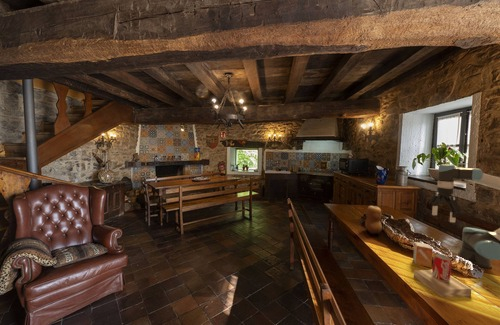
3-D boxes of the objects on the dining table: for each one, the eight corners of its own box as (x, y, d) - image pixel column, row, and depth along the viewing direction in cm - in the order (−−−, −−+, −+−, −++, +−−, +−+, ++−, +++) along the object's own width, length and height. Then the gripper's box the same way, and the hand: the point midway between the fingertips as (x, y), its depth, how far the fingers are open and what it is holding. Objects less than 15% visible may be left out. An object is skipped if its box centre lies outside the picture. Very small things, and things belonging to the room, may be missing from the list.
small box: (415, 264, 127) (416, 245, 126) (413, 259, 133) (414, 241, 132) (431, 268, 123) (432, 248, 122) (428, 263, 129) (429, 244, 128)
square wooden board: (439, 276, 115) (439, 269, 115) (470, 296, 99) (471, 288, 99) (414, 276, 115) (414, 270, 114) (442, 297, 99) (442, 289, 98)
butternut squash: (385, 236, 169) (386, 208, 168) (369, 235, 170) (371, 208, 168) (375, 229, 183) (376, 204, 182) (361, 229, 184) (362, 204, 182)
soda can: (431, 273, 112) (432, 251, 111) (448, 278, 107) (450, 256, 106) (432, 279, 106) (434, 257, 106) (451, 285, 102) (453, 261, 101)
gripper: (424, 184, 140) (422, 212, 141) (456, 191, 115) (454, 225, 116) (435, 184, 139) (433, 212, 140) (470, 191, 114) (468, 225, 115)
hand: (443, 218), depth 128 cm, fingers open, 13 cm apart
